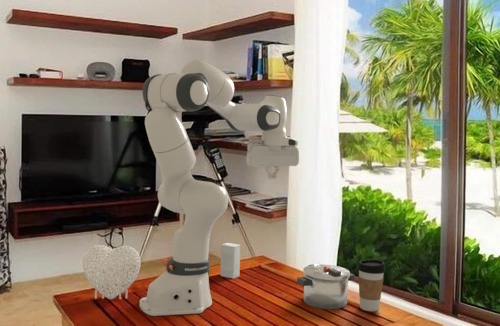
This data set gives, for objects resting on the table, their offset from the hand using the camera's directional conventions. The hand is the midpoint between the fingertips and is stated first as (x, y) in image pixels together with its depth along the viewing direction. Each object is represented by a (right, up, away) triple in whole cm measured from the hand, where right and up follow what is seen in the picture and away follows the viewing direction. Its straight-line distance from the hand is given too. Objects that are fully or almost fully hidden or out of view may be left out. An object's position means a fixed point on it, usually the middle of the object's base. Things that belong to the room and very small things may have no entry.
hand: (272, 178), depth 187 cm
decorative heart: (-52, -38, -25) cm, 69 cm away
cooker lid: (+17, -30, -21) cm, 41 cm away
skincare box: (-16, -37, +3) cm, 40 cm away
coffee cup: (+30, -41, -25) cm, 56 cm away
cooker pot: (+16, -40, -21) cm, 47 cm away
